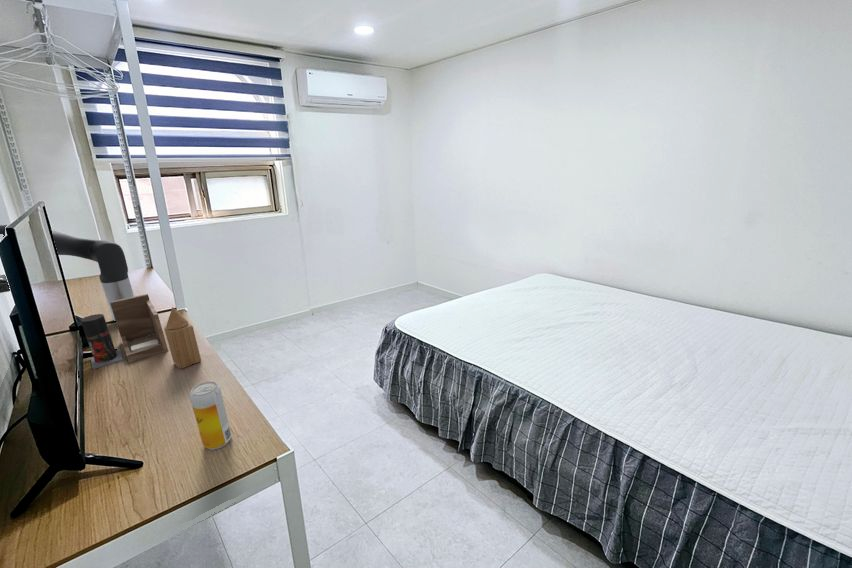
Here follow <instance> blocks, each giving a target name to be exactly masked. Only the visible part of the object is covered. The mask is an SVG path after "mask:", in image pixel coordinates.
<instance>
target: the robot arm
mask: <svg viewBox="0 0 852 568" xmlns="http://www.w3.org/2000/svg"><path fill="white" fill-rule="evenodd" d="M7 225H8V224H1V225H0V234H3V235H4V236H5V227H6V226H7ZM51 230H52V229H51ZM52 234H53V238H54V241H55V245H56V248H57V252H58V255H57V256H72V257H77V258H82V259H85V260H91V261H93V262H96V263H97V264H98V268H99V271H100V274H99V281H100V283H101V287H102V290H103V292H104V296H105V299H106V301H107V306H108V309H109V311H110V314H111V318H112V320H114V321H116V320H115V317H114V314H113V311H112V308H111V305H110V302H111V301H116V300H120V299H125V298H130V297H134V296H135V294H134V290H133V287H132V284H131V280H130V278H129V274H128V273H129V267H128V263H127V260H126V256H125V252H124V250H123V248H122V247H121V246H120V244H117V243H115V242H113V241H109V240H108V241H107V240H103V239H102V240H99V239H98V240H97V239H92V238H91V239H89V238H81V237H76V236H73V235H70V234H69V235H68V234H67V233H62V232H59V231H56V230H54V229H53V230H52ZM4 236H3V237H4ZM9 288H10V287H9V285H8V282H7V279H6V276H5V274H0V294H2V293H7V292H8V293H9V292H11V291H10V289H9ZM114 321H113V322H114Z"/></svg>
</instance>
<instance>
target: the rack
mask: <svg viewBox="0 0 852 568" xmlns="http://www.w3.org/2000/svg"><path fill="white" fill-rule="evenodd" d="M110 305H111V308H112V311H113V314H114V317H115V320H116V322H115V323H116V327H117V329H118V332H119V334H120V335H119V336H120V338H121V342H122V345H123V349H124V352H125V354H126V355H125V356H126V358H127V361H128V363H131V362H135V361H137V360H141V359H145V358H148V357H151V356H154V355H155V356H156V355H158V354H162V353H165V352H168V351H169V349H168V345H167V344H168V343H167V341H166V336H165V334H164V331H163V327H162V323H161V320H160V317H159V313H158V312H157V310H156V309H155V306H154V305H153V303H152V302H151V300H150V296H149V294H148V293H145V294H140V295H134V297H130V298H125V299H120V300H116V301H111V302H110ZM152 336H156V339H157V340H158V343H159V344H160V345H156V346H153V347H149V348H146V349H142V350H139V351H135V352H132V351H131V349H130V348H129V342H132V341H136V340H140V339H143V338H147V337H152Z"/></svg>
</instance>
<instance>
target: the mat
mask: <svg viewBox="0 0 852 568" xmlns="http://www.w3.org/2000/svg"><path fill="white" fill-rule="evenodd" d="M115 351H116V354H117V357H116V358H114V359H112V360H110V361H107V362H103V363H96V362H95V360H94V357H93V356H92V357H90V360H91V368H92V370H95V369H98V368H101V367H102V368H103V367H106V366H109V365H112V364H116V363H118V362H122V361H124V359H123V356H122V355H123V354H122V351H121V349H118V350H115Z"/></svg>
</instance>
